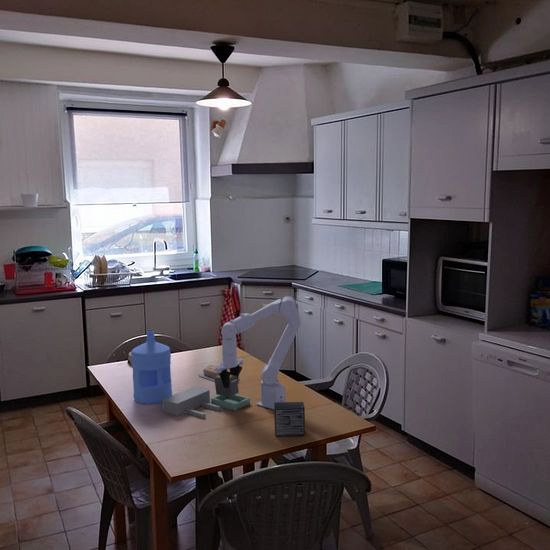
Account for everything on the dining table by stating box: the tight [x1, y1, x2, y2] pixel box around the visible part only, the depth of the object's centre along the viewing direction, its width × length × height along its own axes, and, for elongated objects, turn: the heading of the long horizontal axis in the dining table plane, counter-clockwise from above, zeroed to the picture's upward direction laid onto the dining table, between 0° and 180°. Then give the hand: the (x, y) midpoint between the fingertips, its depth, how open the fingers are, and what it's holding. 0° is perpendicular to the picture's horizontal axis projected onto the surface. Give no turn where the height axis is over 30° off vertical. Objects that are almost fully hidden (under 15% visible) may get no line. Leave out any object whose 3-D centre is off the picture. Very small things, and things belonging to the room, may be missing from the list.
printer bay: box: [162, 386, 222, 419], centre depth 226 cm, size 18×18×5 cm
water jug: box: [131, 330, 173, 405], centre depth 237 cm, size 16×16×28 cm
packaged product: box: [198, 364, 241, 383], centre depth 263 cm, size 18×5×10 cm
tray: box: [210, 394, 251, 412], centre depth 231 cm, size 13×9×2 cm
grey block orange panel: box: [214, 375, 240, 396], centre depth 231 cm, size 8×4×7 cm, turn 54°
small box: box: [273, 401, 306, 438], centre depth 203 cm, size 11×6×10 cm, turn 92°
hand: (230, 385), depth 230 cm, fingers closed on grey block orange panel, 4 cm apart
